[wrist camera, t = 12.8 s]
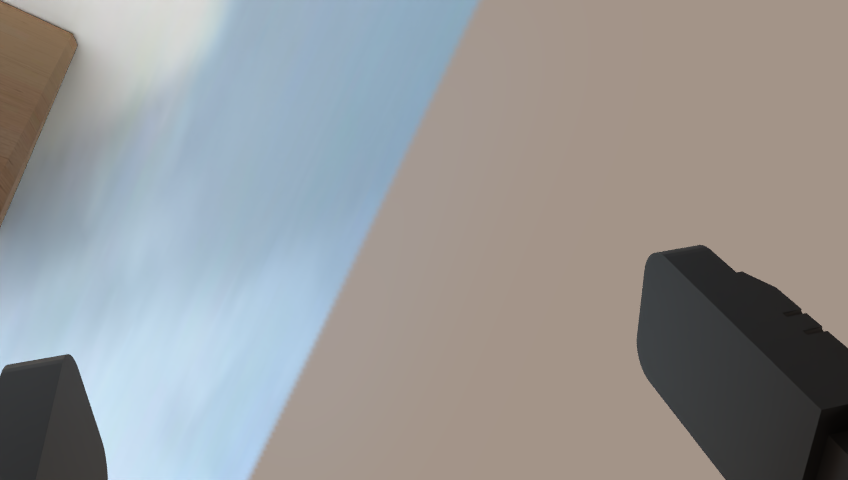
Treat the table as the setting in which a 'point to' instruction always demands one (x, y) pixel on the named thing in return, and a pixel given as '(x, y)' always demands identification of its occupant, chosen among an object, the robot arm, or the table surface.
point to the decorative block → (26, 89)
